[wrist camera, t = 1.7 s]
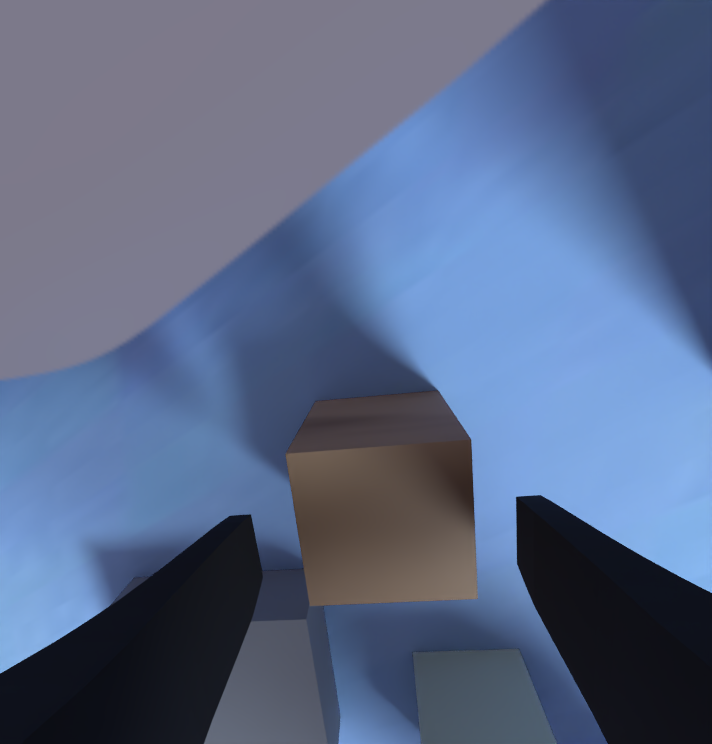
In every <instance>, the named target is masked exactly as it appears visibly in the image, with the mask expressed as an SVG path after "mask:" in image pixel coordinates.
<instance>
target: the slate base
mask: <svg viewBox="0 0 712 744" xmlns="http://www.w3.org/2000/svg"><path fill="white" fill-rule="evenodd" d="M262 573H263V580H262V584H261V588H260V592H259V596H258V599H257V603H256V607H255V610H254V614H253V617H252V620H251V623H250V625H249V628H248V631H247V633H246V636H245V638H244V641H243V644H242V646H241V649H240V651H239V654H238V656H237V659H236V662H235V664H234V667H233V669H232V672H231V674H230V677H229V679H228V682H227V684H226V687H225V690H224V692H223V695H222V697H221V700H220V702H219V705H218V707H217V710H216V712H215V715H214V717H213V720H212V723H211V726H210V728H209V731H208V734H207V737H206V740H205V742H204V744H338V741H339V729H340V710H339V704H338V698H337V691H336V685H335V678H334V672H333V666H332V659H331V653H330V646H329V640H328V633H327V627H326V621H325V614H324V608H323V606H310V604H309V597H308V591H307V585H306V579H305V573H304V569H290V570H271V571H262ZM148 578H149V577H136V578H133V580H132V581H131V582H130V583H129V584H128V585H127V587H126V588H125V589H124V590H123V591H122V592H121V594H120V595H119V596H118V597H117V598H116V599H115V601H114V602H113V603H112V604H114V603H115V602H117V601H118V600H119V599H121V598H122V597H124V596H125V595H126V594H128V593H129V592H130V591H132V590H133V589H134V588H136V587H137V586H138V585H140V584H141V583H143V582H144V581H145V580H147V579H148ZM112 604H111V605H112ZM111 605H110V606H111Z"/></svg>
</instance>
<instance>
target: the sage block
mask: <svg viewBox="0 0 712 744" xmlns="http://www.w3.org/2000/svg"><path fill="white" fill-rule="evenodd" d="M412 653H413V664H414V675H415V685H416V696H417V707H418V717H419V728H420V738H421V744H557V742H556V740H555V737H554V735H553V732H552V730H551V727H550V725H549V722H548V720H547V717H546V715H545V713H544V710H543V708H542V705H541V703H540V700H539V698H538V695H537V693H536V690H535V688H534V685H533V683H532V680H531V678H530V675H529V673H528V671H527V668H526V666H525V663H524V661H523V658H522V656H521V653H520V651H519V649H497V650H465V651H433V652H412Z"/></svg>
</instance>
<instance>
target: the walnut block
mask: <svg viewBox="0 0 712 744" xmlns="http://www.w3.org/2000/svg"><path fill="white" fill-rule="evenodd" d="M286 460H287V467H288V473H289V479H290V485H291V492H292V498H293V504H294V510H295V516H296V523H297V529H298V535H299V541H300V548H301V554H302V560H303V566H304V573H305V579H306V585H307V591H308V597H309V604H310V606H323V605H346V604H370V603H393V602H416V601H440V600H463V599H478V593H477V569H476V545H475V521H474V496H473V472H472V448H471V439H470V437H469V436H468V434H467V433H466V431H465V430H464V428H463V427H462V425H461V424H460V422H459V421H458V419H457V418H456V416H455V415H454V413H453V412H452V410H451V409H450V407H449V406H448V404H447V403H446V401H445V400H444V398H443V397H442V395H441V394H440V392H439V391H438V390H437V391H425V392H414V393H402V394H391V395H379V396H368V397H357V398H345V399H334V400H322V401H315V403H314V405H313V407H312V408H311V410H310V412H309V414H308V415H307V417H306V419H305V421H304V422H303V424H302V426H301V428H300V429H299V431H298V433H297V435H296V436H295V438H294V440H293V442H292V443H291V445H290V447H289V449H288V450H287V452H286Z"/></svg>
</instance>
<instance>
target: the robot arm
mask: <svg viewBox="0 0 712 744" xmlns="http://www.w3.org/2000/svg"><path fill="white" fill-rule="evenodd" d="M516 516H517V565H518V567H519V570H520V572H521V575H522V577H523V580H524V582H525V585H526V587H527V590H528V592H529V594H530V597H531V599H532V601H533V604H534V606H535V608H536V610H537V612H538V614H539V615H540V617H541V619H542V621H543V623H544V625H545V627H546V629H547V630H548V632H549V634H550V636H551V638H552V640H553V642H554V643H555V645H556V647H557V649H558V651H559V653H560V654H561V656H562V658H563V660H564V662H565V664H566V665H567V667H568V669H569V671H570V673H571V675H572V676H573V678H574V680H575V682H576V684H577V686H578V687H579V689H580V691H581V693H582V695H583V697H584V698H585V700H586V702H587V704H588V706H589V708H590V710H591V711H592V713H593V715H594V717H595V719H596V721H597V723H598V725H599V727H600V729H601V731H602V733H603V735H604V737H605V739H606V741H607V743H608V744H712V593H711V592H709V591H706V590H704V589H702V588H701V587H699V586H697V585H695V584H693V583H691V582H689V581H687V580H685V579H683V578H681V577H679V576H677V575H676V574H674V573H672V572H670V571H668V570H666V569H665V568H663V567H661V566H659V565H657V564H655V563H654V562H652V561H650V560H648V559H646V558H644V557H643V556H641V555H639V554H638V553H636V552H634V551H632V550H631V549H629V548H627V547H625V546H624V545H622V544H620V543H619V542H617V541H615V540H614V539H612V538H610V537H609V536H607V535H605V534H604V533H602V532H600V531H599V530H597V529H595V528H594V527H592V526H590V525H589V524H587V523H586V522H584V521H582V520H581V519H579V518H578V517H576V516H574V515H573V514H571V513H569V512H568V511H566V510H565V509H563V508H561V507H560V506H558V505H556V504H555V503H553V502H551V501H550V500H548V499H546V498H544V497H543V496H541V495H537V496H521V497H516ZM262 580H263V573H262V568H261V563H260V558H259V553H258V548H257V543H256V538H255V533H254V528H253V523H252V518H251V515H235V516H229V517H228V518H226V519H225V520H223V521H222V522H220V523H219V524H218V525H216V526H215V527H214V528H212V529H211V530H210V531H209V532H207V533H206V534H205V535H203V536H202V537H201V538H200V539H198V540H197V541H196V542H195V543H193V544H192V545H191V546H190V547H188V548H187V549H186V550H185V551H183V552H182V553H181V554H179V555H178V556H177V557H176V558H174V559H173V560H172V561H171V562H169V563H168V564H167V565H165V566H164V567H163V568H162V569H160V570H159V571H157V572H156V573H155V574H153V575H152V576H151V577H149V578H148V579H147V580H145V581H144V582H143V583H141V584H140V585H138V586H137V587H136V588H134V589H133V590H132V591H130V592H129V593H128V594H126V595H125V596H124V597H122V598H121V599H119V600H118V601H117V602H115V603H114V604H112V605H111V606H109V607H108V608H106V609H105V610H103V611H102V612H100V613H99V614H98V615H96V616H95V617H93V618H92V619H90V620H88V621H87V622H85V623H84V624H82V625H81V626H79V627H78V628H76V629H74V630H73V631H71V632H70V633H68V634H67V635H65V636H64V637H62V638H60V639H59V640H57V641H55V642H54V643H52V644H51V645H49V646H47V647H45V648H44V649H42V650H40V651H38V652H37V653H35V654H33V655H32V656H30V657H28V658H26V659H25V660H23V661H21V662H20V663H18V664H16V665H14V666H13V667H11V668H9V669H7V670H6V671H4V672H2V673H1V674H0V744H204V742H205V740H206V737H207V734H208V731H209V728H210V726H211V723H212V720H213V717H214V715H215V712H216V710H217V707H218V705H219V702H220V700H221V697H222V695H223V692H224V690H225V687H226V684H227V682H228V679H229V677H230V674H231V672H232V669H233V667H234V664H235V662H236V659H237V656H238V654H239V651H240V649H241V646H242V644H243V641H244V638H245V636H246V633H247V631H248V628H249V625H250V623H251V620H252V617H253V614H254V610H255V607H256V603H257V599H258V596H259V592H260V588H261V584H262Z"/></svg>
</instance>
